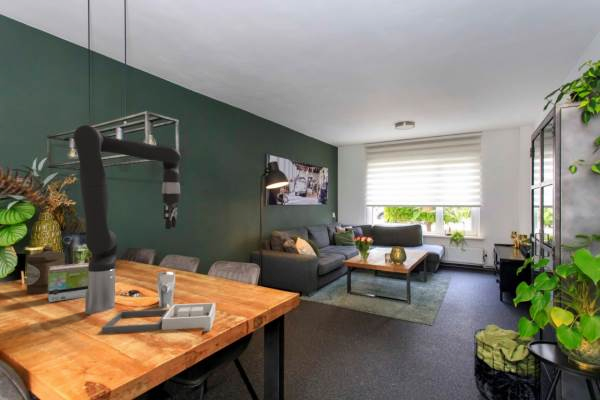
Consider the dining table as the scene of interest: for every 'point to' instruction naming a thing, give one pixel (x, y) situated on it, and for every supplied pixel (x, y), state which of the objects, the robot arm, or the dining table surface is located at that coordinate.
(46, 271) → the wooden container
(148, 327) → the tray
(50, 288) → the tea box
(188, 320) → the bin
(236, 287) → the dining table surface
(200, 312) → the off-white cube
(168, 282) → the silver metal goblet
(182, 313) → the light grey cube block
